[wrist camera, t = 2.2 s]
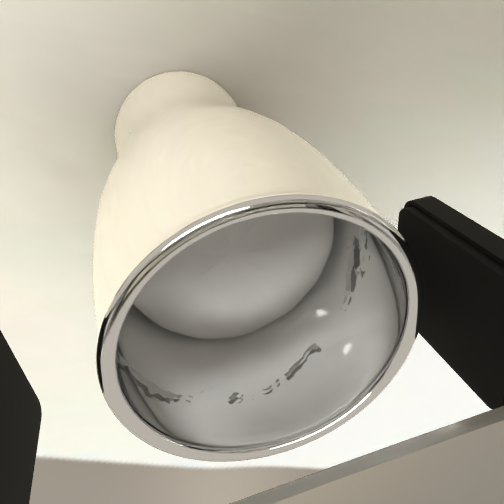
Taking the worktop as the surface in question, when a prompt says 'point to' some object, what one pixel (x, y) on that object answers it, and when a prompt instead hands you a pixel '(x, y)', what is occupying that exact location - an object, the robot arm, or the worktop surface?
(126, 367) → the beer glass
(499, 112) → the worktop surface
